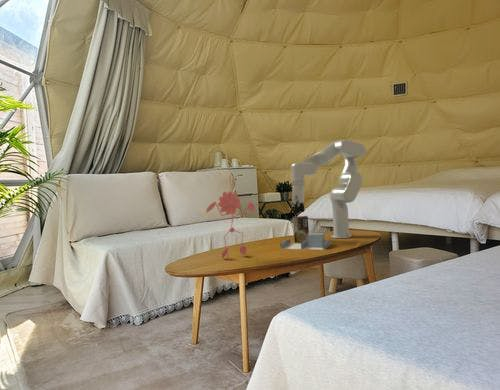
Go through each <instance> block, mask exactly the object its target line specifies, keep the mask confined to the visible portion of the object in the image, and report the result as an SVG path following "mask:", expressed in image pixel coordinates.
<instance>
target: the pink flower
mask: <svg viewBox="0 0 500 390" xmlns="http://www.w3.org/2000/svg"><path fill="white" fill-rule="evenodd" d="M218 200H219V201H218V203H217V202H216V201H214V202H212V203H211V204H209V206H208V207H207V208H206V212H205V213H209V212H210V211H211V210H213V209H214V207H215V206H216V208H217V210H218V212H219V214H220V216H221V217H223V216H230V215H231V217H232V218H231V224H230V226H231V227H229V230H228V231H227V233H226V234H225V235H224V236H223V239H224V241H226V236H227V235H228V234H229V233H234V232H237V233H239V234H242V236H241V238H242V241H241V246H239V252H240V254H241V255H243V257H244V258H246V253H247V247H246V246H245V245H244V234H243V232H241V231H238V230H235V228H234V227H233V224H234V223H233V222H234V215H238V216H244V215H245V213H246V211H247V209H248V211H250V212H252V213H253V212H254V210H255V205H254V204H253V203H252V202H251V201H249V202H248V203H247V206H246V207H245V210H244V211H243V213H242V214H241V213H236V210H239V209H241V205H240V203H241V200H240V199H239V198H238V193H236V192H234V193H233V192H232V191H228V192H226V191H223V193H222V196H219V197H218ZM219 207H220V208H219ZM223 213H224V214H223ZM224 247H225V249H224V250H223V251H222V253H221V255H220V257H221V259H224V258H225V256H227V260H228V261H229V260H230V257H229V253H228V252H229V247H227V246H226V242H224ZM236 254H238V253H234V255H236ZM218 257H219V255H217V256H215V258H218Z"/></svg>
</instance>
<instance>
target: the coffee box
mask: <svg viewBox="0 0 500 390" xmlns="http://www.w3.org/2000/svg"><path fill="white" fill-rule="evenodd" d="M292 226H293V227H292V229H293V241H294V242H293V243H296V244H301V243H302V242H304V241H306V240H307V239H308V234H310V229H309V217H308V215H303V216H292Z"/></svg>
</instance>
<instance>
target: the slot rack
mask: <svg viewBox="0 0 500 390" xmlns="http://www.w3.org/2000/svg"><path fill="white" fill-rule="evenodd" d="M331 245H332V238H328V239H327V240H325V243H323V248H321V247H308V239H307V240H306V241H304V242H300V243H294V242H293V243H291V238H289V237H288V238H287V239H285V240H283V241H281V242H280V243H279V246H280V247H279V249H280V250H314V251H315V250H318V251H319V250H321V251H323V250H324V251H326V250H327V248H328V247H330V246H331Z"/></svg>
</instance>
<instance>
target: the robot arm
mask: <svg viewBox="0 0 500 390" xmlns="http://www.w3.org/2000/svg"><path fill="white" fill-rule="evenodd" d="M365 154H366V147H365V146H364V144H362V143H359V142H356V141H352V140H349V139H340V140H339V139H338V140H335V141H332V142H331V143H330V144H328V145H327V146H326V147H324V148H323V149H321V150H320V151H318V152H316V153H314V154H312V155H310V156H309V157H307V158H305V159H304V160H302V161H301V162H295V163H292V164H291V166H290V167H291V187H292V191H291V192H292V194H291V198H292V199H291V201H292V203H293V214H300V213H305V188H304V187H306V185H305V176H312V175H315V174H317V172H318V167H319V166H323V165H325V164H328V163H330V162H331V161H332V160H334V159H335V158H337V156H339V155H342V157H343V160H344V166H343V169H342V171H341V173H340V175H339V178H338V185H340V186H337V187H334V188H332V189H331V190H330V194H329V196H330V201H331V208H332V224H333V230H332V231H333V234H331V235H330V237H331V239H332V238H333V239H349V238H351V237H353V236H352V234H351V233H350V227H349V207H348V205H347V203H352V202H354V201H355V200H356V199H357V196H358V194H359V192H360V189H361V187H362V184H363V176H362V174H361V173H360V172H358V169H359V165H358V162H357V158H362V157H364V156H365Z"/></svg>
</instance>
